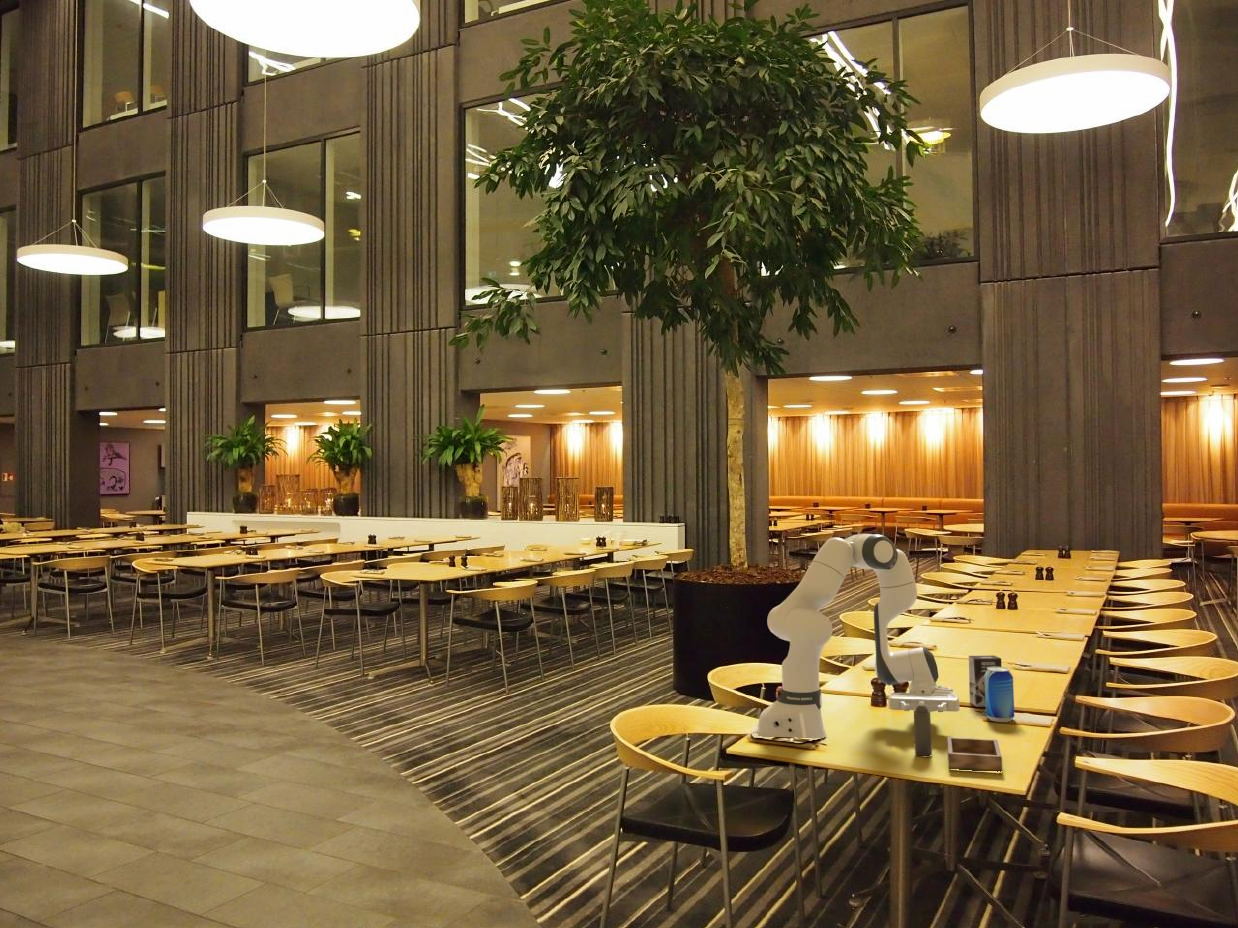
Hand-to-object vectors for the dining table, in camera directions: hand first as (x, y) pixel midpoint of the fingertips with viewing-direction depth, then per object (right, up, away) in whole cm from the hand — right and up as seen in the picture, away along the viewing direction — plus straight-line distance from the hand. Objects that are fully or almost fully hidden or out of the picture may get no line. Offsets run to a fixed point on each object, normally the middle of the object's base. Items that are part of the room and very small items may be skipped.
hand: (923, 708), depth 270 cm
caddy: (+7, -9, -21) cm, 24 cm away
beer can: (+32, -9, +22) cm, 40 cm away
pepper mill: (-4, -10, -12) cm, 16 cm away
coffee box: (+35, -10, +41) cm, 55 cm away
